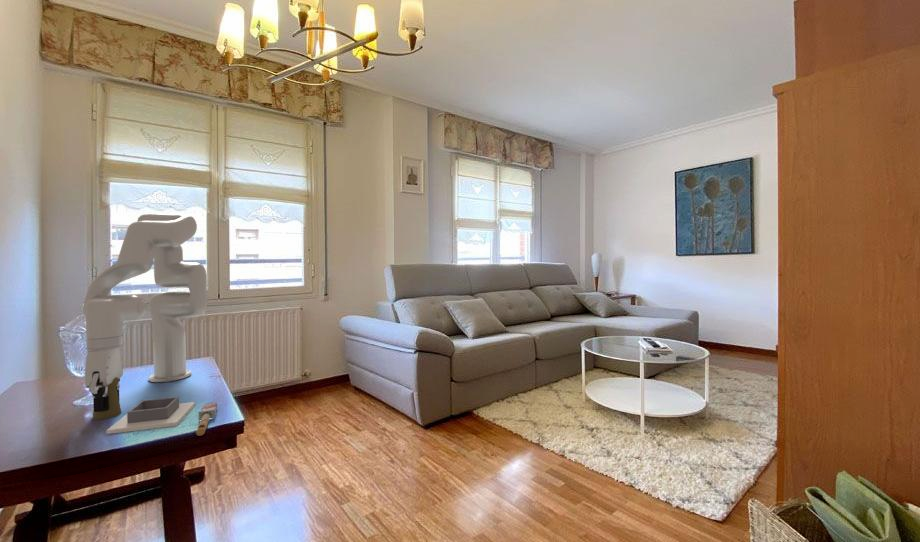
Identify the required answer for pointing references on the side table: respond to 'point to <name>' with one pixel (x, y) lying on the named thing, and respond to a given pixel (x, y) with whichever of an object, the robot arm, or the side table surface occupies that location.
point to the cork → (110, 402)
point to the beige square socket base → (152, 415)
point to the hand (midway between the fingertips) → (106, 406)
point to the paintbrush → (206, 416)
